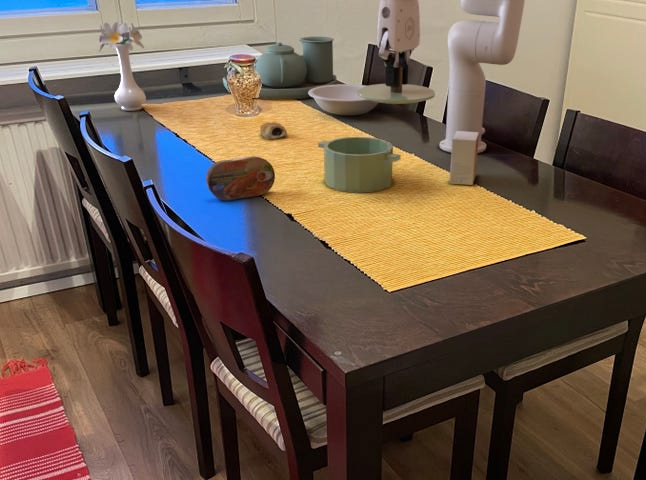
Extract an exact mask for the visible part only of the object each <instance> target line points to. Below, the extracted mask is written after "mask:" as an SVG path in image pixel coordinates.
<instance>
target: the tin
mask: <svg viewBox="0 0 646 480" xmlns="http://www.w3.org/2000/svg"><path fill="white" fill-rule="evenodd" d="M205 176H206V177H205V181H206V186H207V188H208V190H209V191H210V193H211V194H212V195H213V196H214V198H217V199H219V200H221V201H226V202H227V201H235V200H239V199H241V200H242V199H247V198H253V197H259V196H263V195H265V194H267V193H268V192H269V191H270V190H271V189H272V187H273V185H274V184H275V180H276V173H275V169H274V167H273V165H272V163H270V161H268V160H267V159H266V158H263V157H260V156H255V155H254V156H246V157H238V158H231V159H224V160H218V161H216V162H215V163H213V164H212V165H211V166H210V167H209V169H208V170H207V172H206V175H205Z"/></svg>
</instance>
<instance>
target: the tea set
mask: <svg viewBox="0 0 646 480" xmlns="http://www.w3.org/2000/svg"><path fill="white" fill-rule="evenodd" d="M298 40H299V42H300V43H301V46H302V54H299V53H297V52H295V48H294V47H293V46H291V45H289V44H288V45H287V44H283V43H282V42H281V41H278V42H277V43H276V44H272V45H268V46H267V47H266V48H265V52H263V53H262V54H261V55H259V56H258V57H259V58H258V59H257V60H256V62H255V68H256V70H257V72H258V73H259V75H260V76H261V79H262V87H261V90H260V93H259V97H258V100H270V101H282V100H283V101H285V100H303V99H310V98H312V97H311V96H310V95H309V94H308V92H309V90H311V89H313V88H316V87H320V86H326V85H337V84H338V79H337V75H336V74H334V55H333V54H334V51H333V50H334V49H333V48H334V47H333V46H334V45H333V42H334V41H335V39H334V38H333V37H329V36H305V37H298ZM226 64H227V63H225V64H224V67H226ZM222 84H223V85H224V88H225V89H226V90H227V92H228V93H230V91H229V89H228V86H227V80H226V76H224V77H223V78H222ZM230 94H231V93H230Z"/></svg>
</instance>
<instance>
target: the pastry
mask: <svg viewBox="0 0 646 480" xmlns="http://www.w3.org/2000/svg"><path fill="white" fill-rule="evenodd" d="M259 128H260V129H259V130H260V134H261V136H262V137H263V138H264V139H265V140H270V141H271V140H276V139H282V138H284V137H286V135H287V130H286V127H285V126H284V125H282V124H281V123H279V122H275V121H274V122H265V123H263V124H260V127H259Z"/></svg>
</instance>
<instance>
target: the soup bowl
mask: <svg viewBox="0 0 646 480" xmlns="http://www.w3.org/2000/svg"><path fill="white" fill-rule="evenodd" d="M365 86H367V85H365V84H355V83H353V84H351V83H347V84H345V83H343V84H338V83H337V85H326V86H320V87H316V88H313V89H311V90H309V92H308V94H309V95H310V96H311V98H313V99H314V102H316V104H317V105H318V106H319V107H320V108H321V109H322V110H323V111H325V112H327V113H329V114H332V115H338V116H359V115H364V114H367V113H369V112H370V111H372V110H373V109H375V107H377V105H378V104H379V103H380V102H375V101H371V100H367V99H364V98H361V97H360V96H358V90H359V89H360V88H362V87H365Z"/></svg>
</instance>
